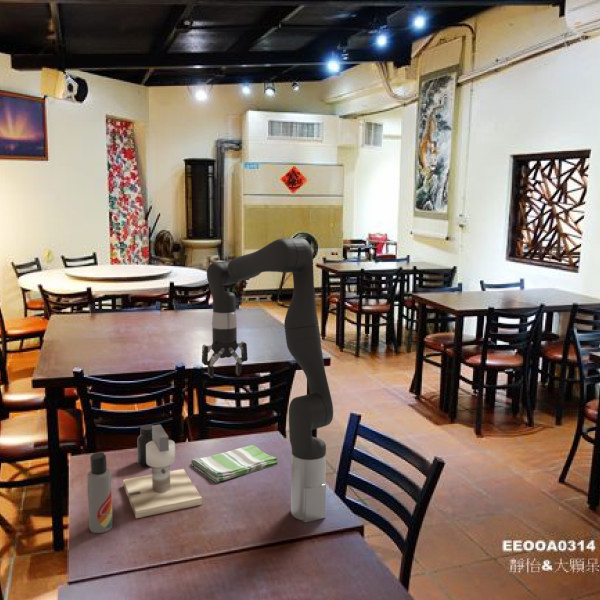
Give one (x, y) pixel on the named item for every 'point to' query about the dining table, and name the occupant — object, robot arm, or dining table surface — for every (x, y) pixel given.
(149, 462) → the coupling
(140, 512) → the post board
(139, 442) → the supplement bottle
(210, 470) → the dish towel
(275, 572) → the dining table surface
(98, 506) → the lotion bottle
